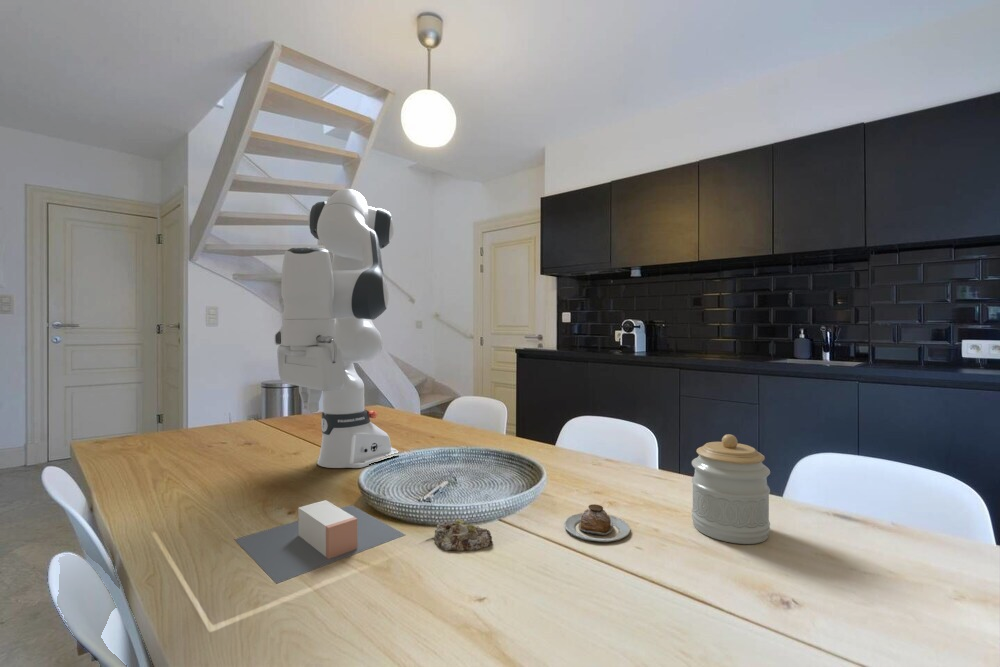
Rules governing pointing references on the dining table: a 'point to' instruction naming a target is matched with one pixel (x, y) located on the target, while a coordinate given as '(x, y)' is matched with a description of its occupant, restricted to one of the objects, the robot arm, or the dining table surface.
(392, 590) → the dining table surface
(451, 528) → the mineral rock
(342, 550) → the cream block
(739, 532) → the jar
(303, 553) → the rubber mat
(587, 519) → the pastry
